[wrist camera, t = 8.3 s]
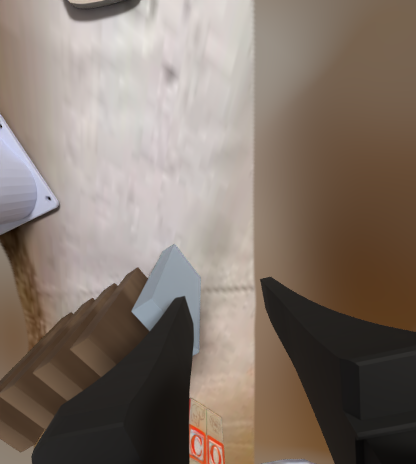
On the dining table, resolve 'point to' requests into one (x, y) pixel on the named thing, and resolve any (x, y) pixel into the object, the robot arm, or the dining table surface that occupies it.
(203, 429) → the stack of blocks
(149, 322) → the domino
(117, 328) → the domino
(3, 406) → the domino
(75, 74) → the dining table surface
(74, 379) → the domino
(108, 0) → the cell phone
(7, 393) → the domino
